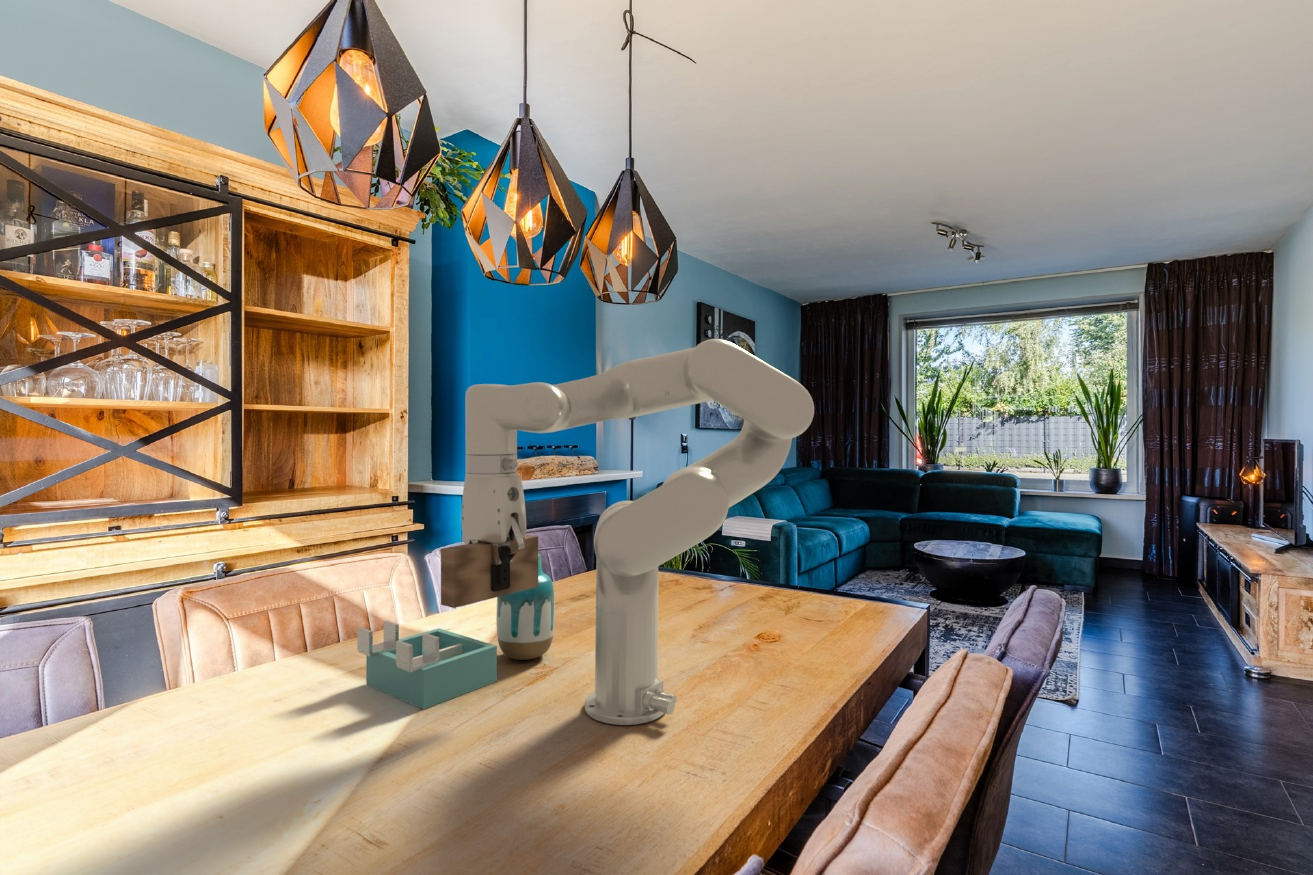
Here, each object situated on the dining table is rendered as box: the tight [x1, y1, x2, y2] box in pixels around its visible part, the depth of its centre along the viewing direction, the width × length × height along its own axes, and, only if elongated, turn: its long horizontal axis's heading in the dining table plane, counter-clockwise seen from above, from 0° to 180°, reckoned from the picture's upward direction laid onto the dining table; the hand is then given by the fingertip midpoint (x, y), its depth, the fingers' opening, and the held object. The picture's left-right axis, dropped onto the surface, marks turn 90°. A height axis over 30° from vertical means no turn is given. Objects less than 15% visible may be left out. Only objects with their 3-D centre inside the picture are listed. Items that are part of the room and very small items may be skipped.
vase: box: [496, 553, 556, 661], centre depth 123 cm, size 11×11×19 cm
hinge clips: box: [356, 620, 439, 672], centre depth 105 cm, size 14×5×4 cm, turn 54°
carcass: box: [365, 627, 498, 710], centre depth 110 cm, size 16×14×6 cm
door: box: [440, 534, 539, 609], centre depth 99 cm, size 16×3×8 cm, turn 144°
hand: (492, 586), depth 100 cm, fingers closed on door, 3 cm apart
